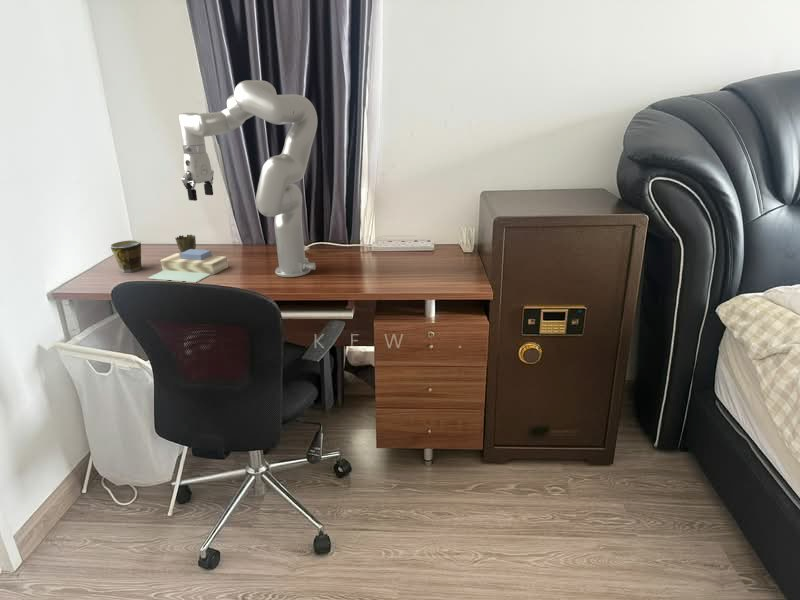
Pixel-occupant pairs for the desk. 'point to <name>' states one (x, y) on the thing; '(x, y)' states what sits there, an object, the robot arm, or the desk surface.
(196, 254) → the blue rectangular block
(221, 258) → the block
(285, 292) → the desk surface
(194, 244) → the cup
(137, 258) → the ceramic cup
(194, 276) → the mat
